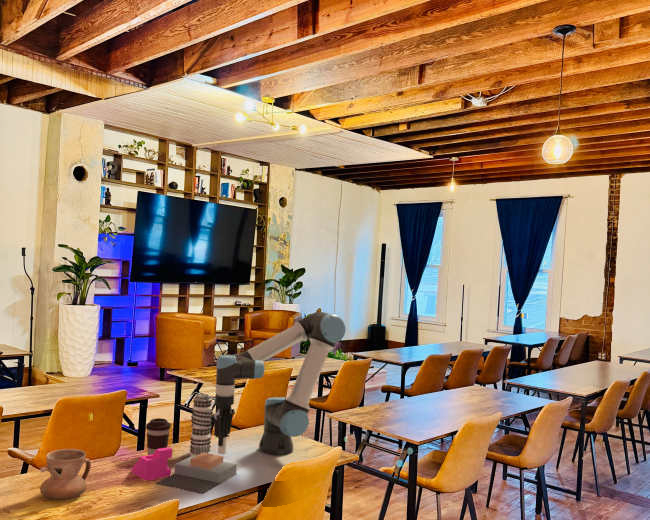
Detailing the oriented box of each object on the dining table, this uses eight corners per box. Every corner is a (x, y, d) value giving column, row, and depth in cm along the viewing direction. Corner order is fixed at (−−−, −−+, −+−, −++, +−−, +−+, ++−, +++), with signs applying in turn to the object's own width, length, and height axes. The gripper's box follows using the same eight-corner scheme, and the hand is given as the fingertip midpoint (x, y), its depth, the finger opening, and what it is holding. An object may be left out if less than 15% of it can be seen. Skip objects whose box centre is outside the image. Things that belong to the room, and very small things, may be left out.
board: (192, 465, 242) (193, 455, 242) (236, 474, 234) (236, 464, 234) (174, 474, 230) (174, 464, 230) (219, 484, 223) (220, 473, 223)
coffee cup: (162, 461, 245) (164, 424, 245) (139, 458, 247) (141, 421, 247) (173, 454, 254) (175, 418, 255) (151, 451, 256) (153, 416, 257)
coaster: (203, 458, 239) (203, 452, 239) (223, 462, 235) (223, 456, 235) (190, 465, 230) (190, 458, 230) (210, 469, 227) (210, 462, 227)
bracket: (170, 476, 229) (172, 448, 229) (145, 481, 222) (147, 453, 222) (156, 467, 238) (157, 441, 238) (131, 472, 231) (132, 445, 231)
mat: (182, 470, 235) (182, 469, 235) (226, 480, 227) (226, 479, 227) (156, 483, 220) (156, 482, 220) (202, 493, 213) (202, 492, 213)
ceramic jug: (48, 509, 193) (52, 464, 194) (27, 495, 203) (31, 453, 203) (100, 495, 207) (103, 454, 208) (78, 484, 217) (81, 444, 217)
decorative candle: (184, 453, 257) (187, 394, 257) (203, 449, 263) (206, 391, 264) (195, 458, 250) (199, 398, 251) (215, 455, 256) (218, 395, 257)
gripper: (225, 390, 250) (222, 447, 250) (207, 396, 238) (204, 456, 238) (241, 392, 247) (238, 450, 247) (224, 398, 235) (220, 459, 235)
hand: (221, 453), depth 242 cm, fingers closed
